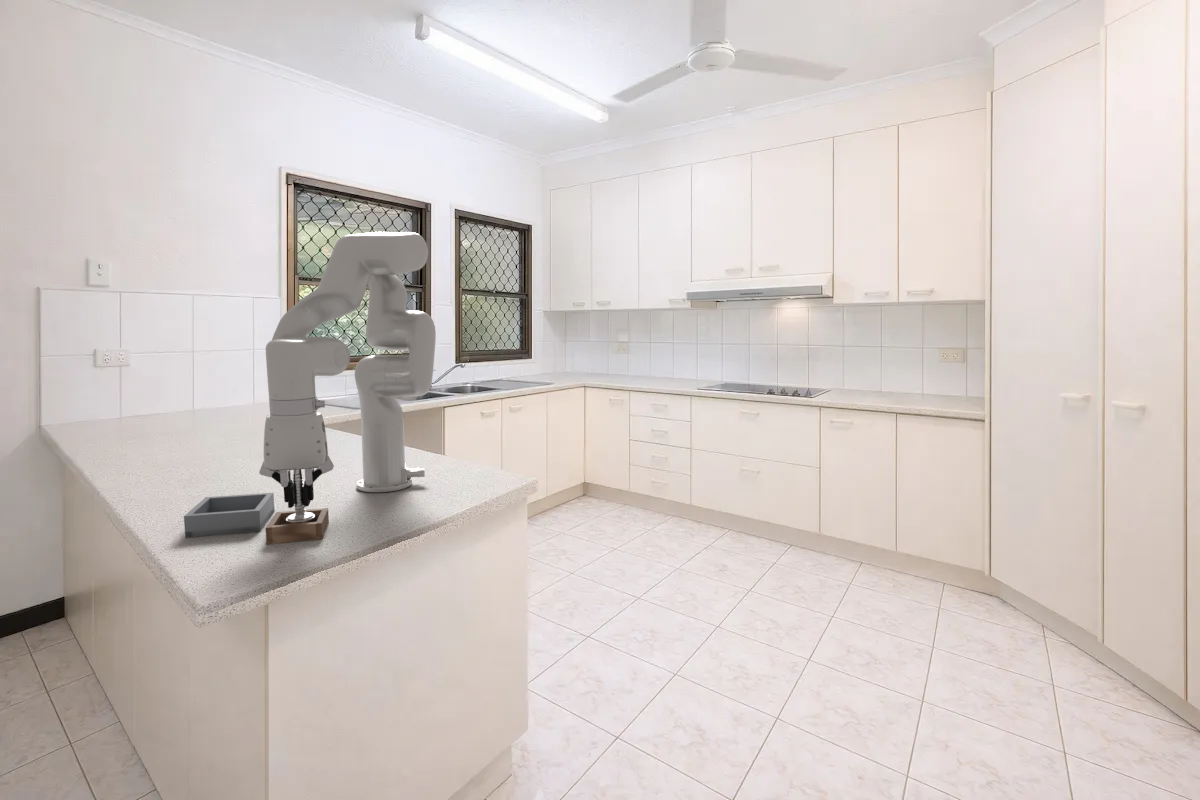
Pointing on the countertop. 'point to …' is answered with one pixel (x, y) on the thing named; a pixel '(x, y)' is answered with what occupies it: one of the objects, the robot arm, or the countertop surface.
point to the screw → (299, 501)
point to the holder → (296, 527)
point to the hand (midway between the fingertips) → (299, 504)
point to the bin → (229, 514)
